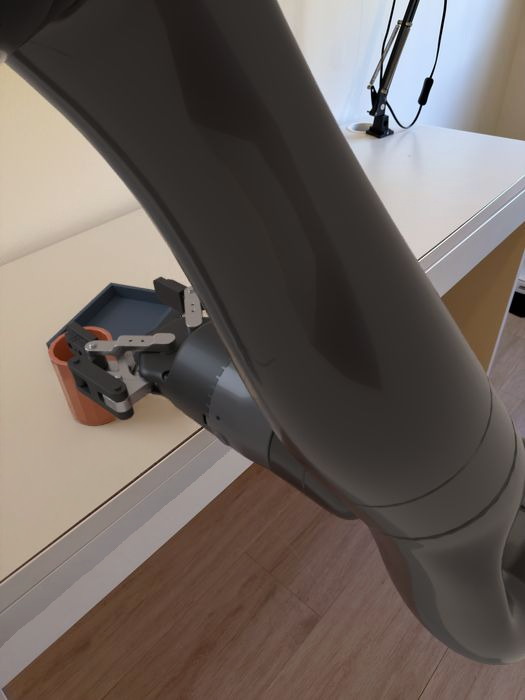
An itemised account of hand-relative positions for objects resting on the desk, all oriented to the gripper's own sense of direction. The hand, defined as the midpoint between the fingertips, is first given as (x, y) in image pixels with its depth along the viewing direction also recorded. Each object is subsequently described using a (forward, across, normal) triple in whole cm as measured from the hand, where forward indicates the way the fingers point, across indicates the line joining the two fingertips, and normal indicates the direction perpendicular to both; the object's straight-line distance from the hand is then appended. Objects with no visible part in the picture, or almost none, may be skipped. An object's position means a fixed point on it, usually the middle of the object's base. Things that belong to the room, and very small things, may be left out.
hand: (116, 309), depth 44 cm
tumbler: (+11, 0, +18) cm, 21 cm away
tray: (+21, -10, +18) cm, 29 cm away
